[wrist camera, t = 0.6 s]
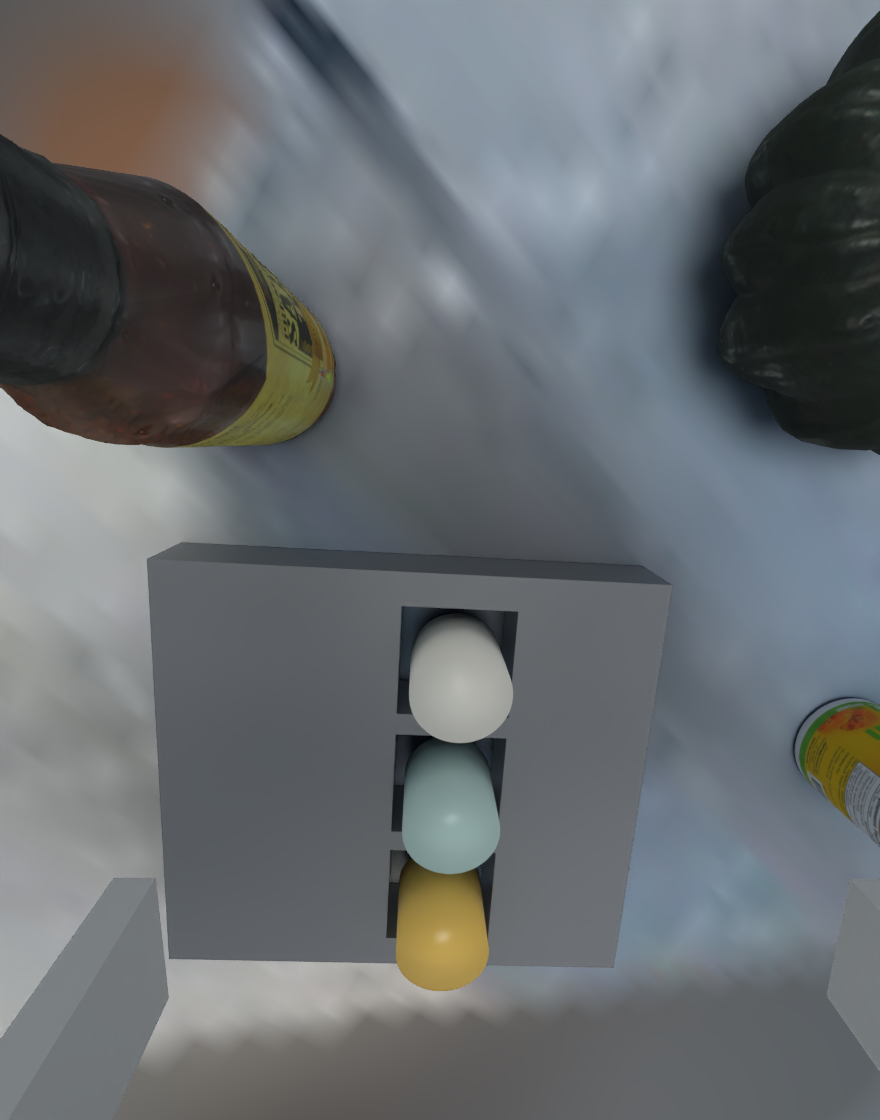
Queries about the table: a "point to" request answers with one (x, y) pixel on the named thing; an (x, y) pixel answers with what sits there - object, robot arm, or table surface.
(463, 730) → the ivory button
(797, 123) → the squash
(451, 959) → the amber button
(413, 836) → the teal button
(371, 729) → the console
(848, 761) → the supplement bottle
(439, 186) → the table surface
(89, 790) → the table surface
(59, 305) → the sauce bottle
